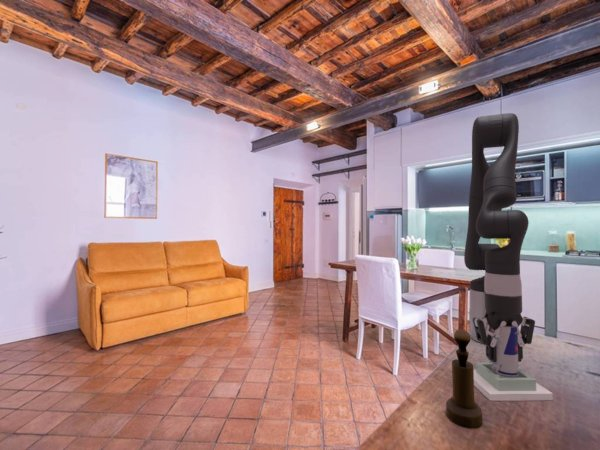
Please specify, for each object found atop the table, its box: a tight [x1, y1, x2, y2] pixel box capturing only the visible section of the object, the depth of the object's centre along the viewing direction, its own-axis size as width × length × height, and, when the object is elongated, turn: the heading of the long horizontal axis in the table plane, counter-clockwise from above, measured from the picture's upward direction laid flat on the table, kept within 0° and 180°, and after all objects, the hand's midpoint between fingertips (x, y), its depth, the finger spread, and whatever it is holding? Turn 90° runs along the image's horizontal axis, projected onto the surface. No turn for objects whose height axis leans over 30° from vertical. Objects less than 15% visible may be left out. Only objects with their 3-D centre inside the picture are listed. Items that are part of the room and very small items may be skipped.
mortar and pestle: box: [445, 329, 483, 429], centre depth 59 cm, size 7×6×18 cm
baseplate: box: [474, 361, 554, 402], centre depth 70 cm, size 11×14×4 cm
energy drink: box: [491, 326, 520, 378], centre depth 70 cm, size 5×5×12 cm
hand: (504, 360), depth 70 cm, fingers closed on energy drink, 5 cm apart
